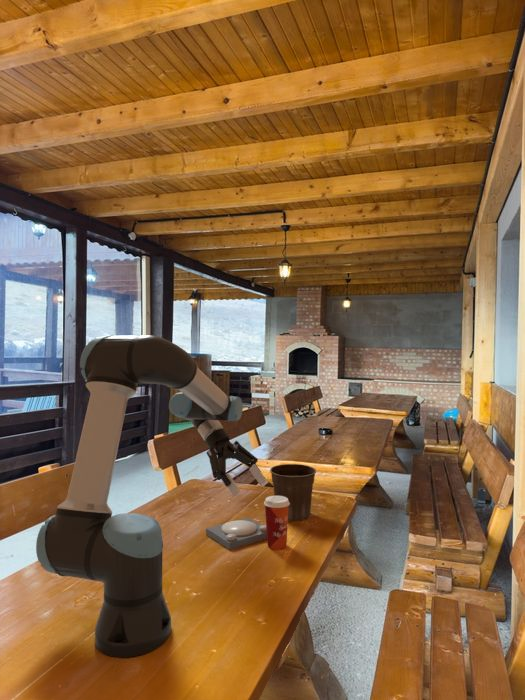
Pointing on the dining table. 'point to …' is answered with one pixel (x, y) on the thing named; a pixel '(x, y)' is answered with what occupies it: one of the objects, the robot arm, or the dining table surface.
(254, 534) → the grey flat block
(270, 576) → the dining table surface
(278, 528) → the paper cup
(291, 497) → the plant pot
